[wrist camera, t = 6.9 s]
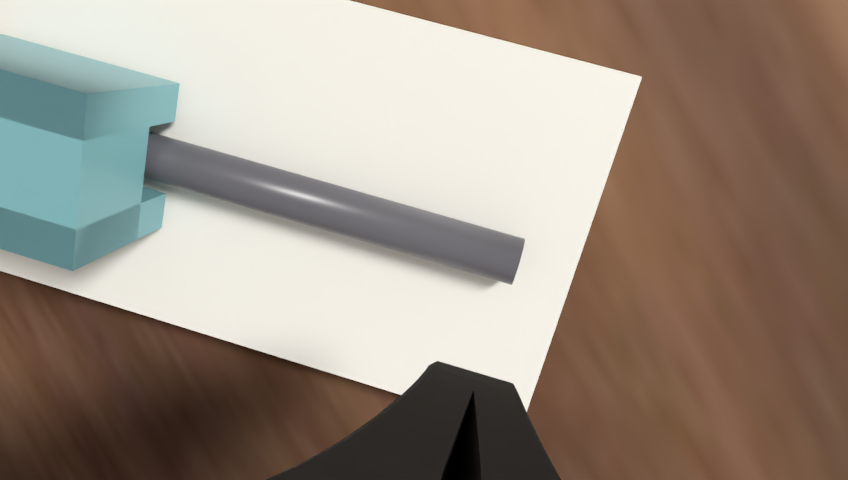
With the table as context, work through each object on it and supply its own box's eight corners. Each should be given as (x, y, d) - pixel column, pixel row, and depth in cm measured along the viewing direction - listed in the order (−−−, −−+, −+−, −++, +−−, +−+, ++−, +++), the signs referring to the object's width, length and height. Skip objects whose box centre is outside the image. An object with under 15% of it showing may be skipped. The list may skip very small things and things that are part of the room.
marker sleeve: (162, 227, 18) (72, 271, 15) (-3, 178, 19) (-128, 209, 15) (179, 83, 17) (86, 94, 13) (2, 34, 17) (-133, 32, 14)
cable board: (520, 412, 19) (516, 502, 16) (-197, 192, 21) (-354, 224, 18) (635, 74, 16) (665, 84, 13) (-218, -148, 18) (-414, -198, 14)
